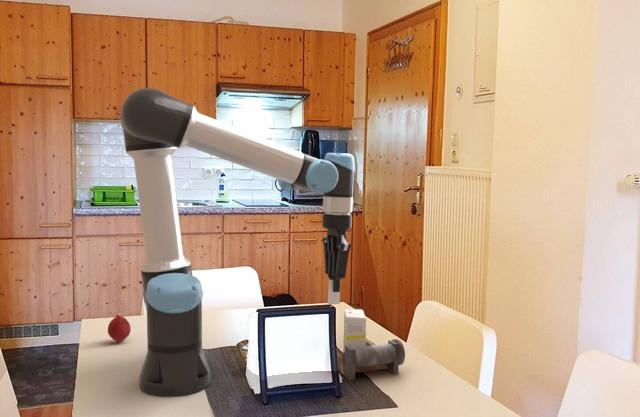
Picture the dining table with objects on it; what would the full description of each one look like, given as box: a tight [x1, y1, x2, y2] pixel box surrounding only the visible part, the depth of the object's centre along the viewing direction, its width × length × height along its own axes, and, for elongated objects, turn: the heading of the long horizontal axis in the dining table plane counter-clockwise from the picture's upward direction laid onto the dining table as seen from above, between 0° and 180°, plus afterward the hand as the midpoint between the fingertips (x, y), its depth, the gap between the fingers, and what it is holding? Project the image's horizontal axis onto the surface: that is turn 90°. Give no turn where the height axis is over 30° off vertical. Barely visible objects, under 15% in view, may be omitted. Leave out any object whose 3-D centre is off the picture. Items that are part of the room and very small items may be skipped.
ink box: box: [342, 308, 367, 352], centre depth 150 cm, size 9×5×12 cm, turn 2°
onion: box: [107, 312, 131, 344], centre depth 162 cm, size 6×6×8 cm
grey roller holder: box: [336, 338, 406, 381], centre depth 148 cm, size 13×22×8 cm, turn 23°
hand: (333, 303), depth 158 cm, fingers closed
